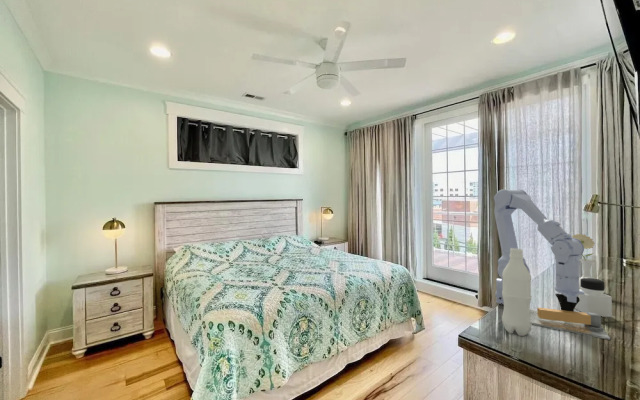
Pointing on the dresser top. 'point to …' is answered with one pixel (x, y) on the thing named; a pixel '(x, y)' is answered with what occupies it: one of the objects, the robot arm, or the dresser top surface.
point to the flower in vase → (586, 263)
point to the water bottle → (516, 294)
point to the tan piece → (570, 316)
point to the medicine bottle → (594, 298)
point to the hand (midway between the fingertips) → (567, 317)
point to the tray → (569, 326)
